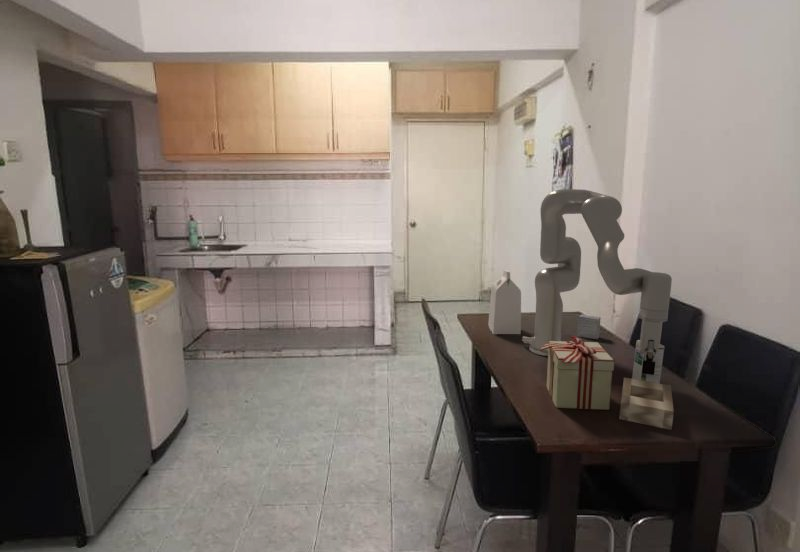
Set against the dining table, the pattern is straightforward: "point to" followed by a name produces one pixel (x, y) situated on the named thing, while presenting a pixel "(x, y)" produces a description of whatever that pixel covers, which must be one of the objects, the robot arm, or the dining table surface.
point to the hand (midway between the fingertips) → (647, 368)
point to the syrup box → (639, 363)
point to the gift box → (579, 374)
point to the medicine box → (588, 326)
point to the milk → (505, 306)
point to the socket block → (647, 403)
